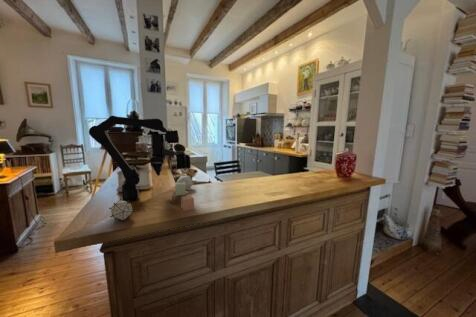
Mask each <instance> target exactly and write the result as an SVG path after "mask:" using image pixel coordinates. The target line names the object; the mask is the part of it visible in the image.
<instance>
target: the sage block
mask: <svg viewBox="0 0 476 317" xmlns="http://www.w3.org/2000/svg"><path fill="white" fill-rule="evenodd" d="M174 184H175V186H174V187H175V191H174V192H176V195H185V191H186V190H185V182H182V183H176V182H175V183H174Z"/></svg>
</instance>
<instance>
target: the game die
mask: <svg viewBox="0 0 476 317" xmlns="http://www.w3.org/2000/svg"><path fill="white" fill-rule="evenodd" d="M133 206H134V203H130V201H123V199H122V197H120V198H119V201H118V202H116V203H115V202H113V206H112V207H108V209H109V210H110V212H111V215H110V216H109V218H112V217H113V218H114V220H120V221H122V223H125V220H126V219H127V218H128V217H131V216H130V215H132V213H136V211H135V210H133Z"/></svg>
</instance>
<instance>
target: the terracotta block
mask: <svg viewBox="0 0 476 317" xmlns="http://www.w3.org/2000/svg"><path fill="white" fill-rule="evenodd" d="M180 205H181V206H180V207H181V209H182V210H183V211H184V212H185V211H189V210H190V211H191V210H194V209H195V198H194V197H193V196H192V195H188V196H183V197H181V203H180Z"/></svg>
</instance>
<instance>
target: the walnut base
mask: <svg viewBox="0 0 476 317" xmlns="http://www.w3.org/2000/svg"><path fill="white" fill-rule="evenodd" d="M188 194H189V190H185V195H176V191H173V192H172V194H171V204H172V205H177V204H180V205H181V197H183V196H189V195H188Z"/></svg>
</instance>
